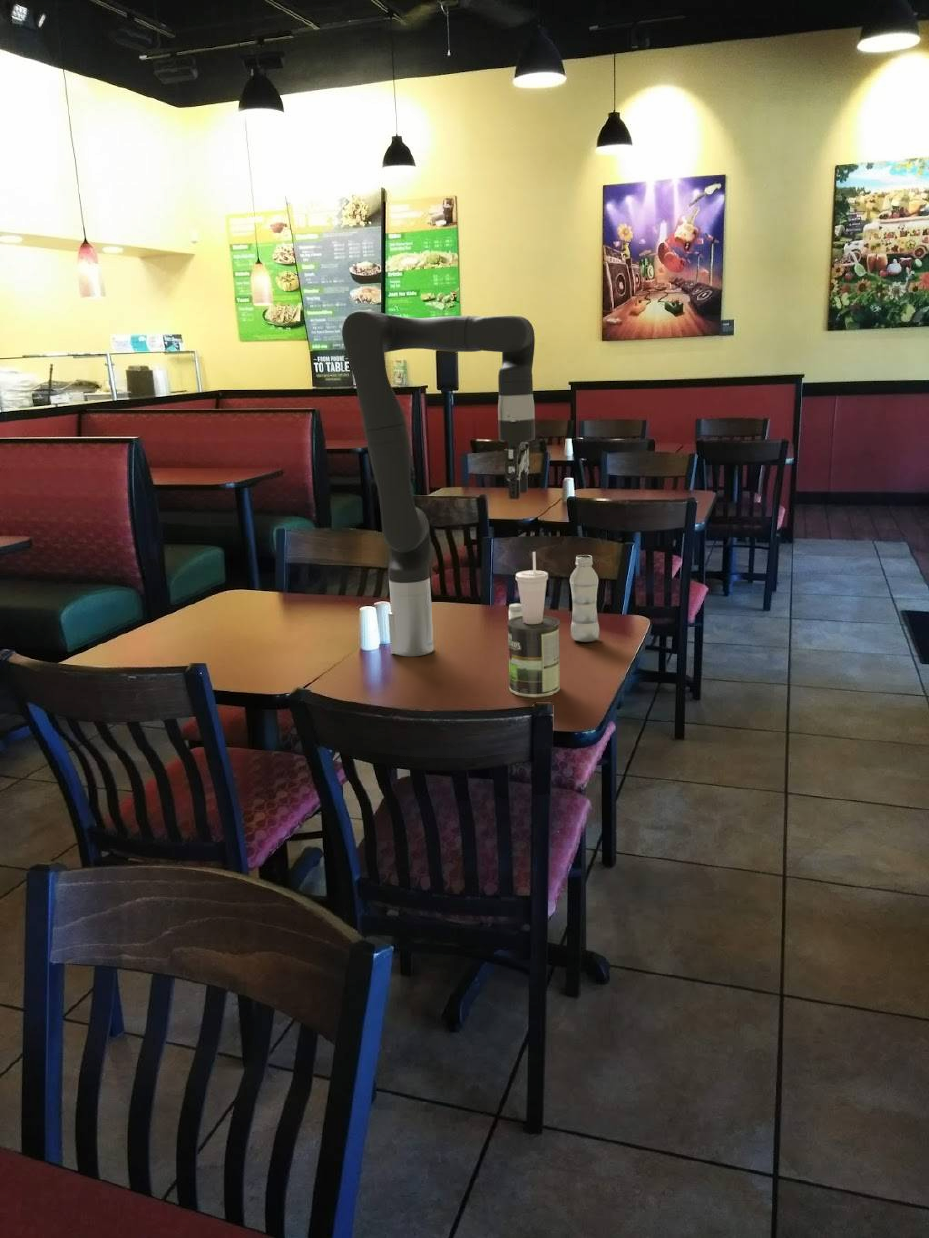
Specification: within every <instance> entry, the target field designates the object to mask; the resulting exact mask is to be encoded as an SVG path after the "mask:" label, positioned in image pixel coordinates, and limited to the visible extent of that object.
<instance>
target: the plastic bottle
mask: <svg viewBox="0 0 929 1238" xmlns="http://www.w3.org/2000/svg"><path fill="white" fill-rule="evenodd" d="M593 563H594V562H593V556H592V555H589V554H580V555H576V557H575V566H576V567H575V568H574V569H573V571H572V573H571V574H570V578H569V584H570V589H571V590H570V591H571V599H572V600H571V601H572V616H571V617H572V618H571V624H570V635H571V637H572V639H573V640H574V641H577V642H580V643H581V642H583V643H587V642H588V643H591V642H594V641H596V640H597V639H598V638H599V634H600V625H599V624H600V623H599V621H598V612H597V598H598V596H597V595H598V588H599V577H598V574H597V573H596V571H595V569H594V568H593V567H592V565H594V564H593Z"/></svg>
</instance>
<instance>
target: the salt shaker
mask: <svg viewBox="0 0 929 1238" xmlns="http://www.w3.org/2000/svg"><path fill="white" fill-rule="evenodd" d="M508 606H509V608H508V621H509V620H510V619H512V618H515V617H518V616H523V615H522V608H521V603H510V604H509V605H508Z"/></svg>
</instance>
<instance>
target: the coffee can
mask: <svg viewBox="0 0 929 1238" xmlns="http://www.w3.org/2000/svg"><path fill="white" fill-rule="evenodd" d="M506 624H507V626H506V627H507V634H508V635H507V637H508V638H507V639H508V668H509V669H508V670H509V671H508V674H509V675H508V676H509V677H508V678H509V692H511V693H512V694H513V693H514V695H517V696H519V697H524V698H545V697H549V696H552V695H554V693H555V694H557V693H558V692H559V691H560V690H561V686H560V628H559V627H560V620H559V619H558V618H556V617H554V616H550V615H546V614H545V615H544V614H543V620H542V622H541V623H539V624H526V623H524V621H523V616H518V617H515V618H512V619H510V620H509V619H508V621H507V622H506Z"/></svg>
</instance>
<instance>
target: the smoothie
mask: <svg viewBox="0 0 929 1238" xmlns="http://www.w3.org/2000/svg"><path fill="white" fill-rule="evenodd" d="M536 555H537V554H536V551H533V552H532V569H531V570H530V569H529V570H522V571H519V572H517V573H516V574H515V580H516V581H517V587H518V588H517V589H518V594H519V600H520V601H519V602H520V604H521V608H522V615H523V621H524V623H526V624H539V623H541V622H542V620H543V615H544V608H545V601H546V600H545V599H546V591H547V582H548V581H547V580H549V573H548V572H547V571H544V570H537V562H536V561H537V557H536Z"/></svg>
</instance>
